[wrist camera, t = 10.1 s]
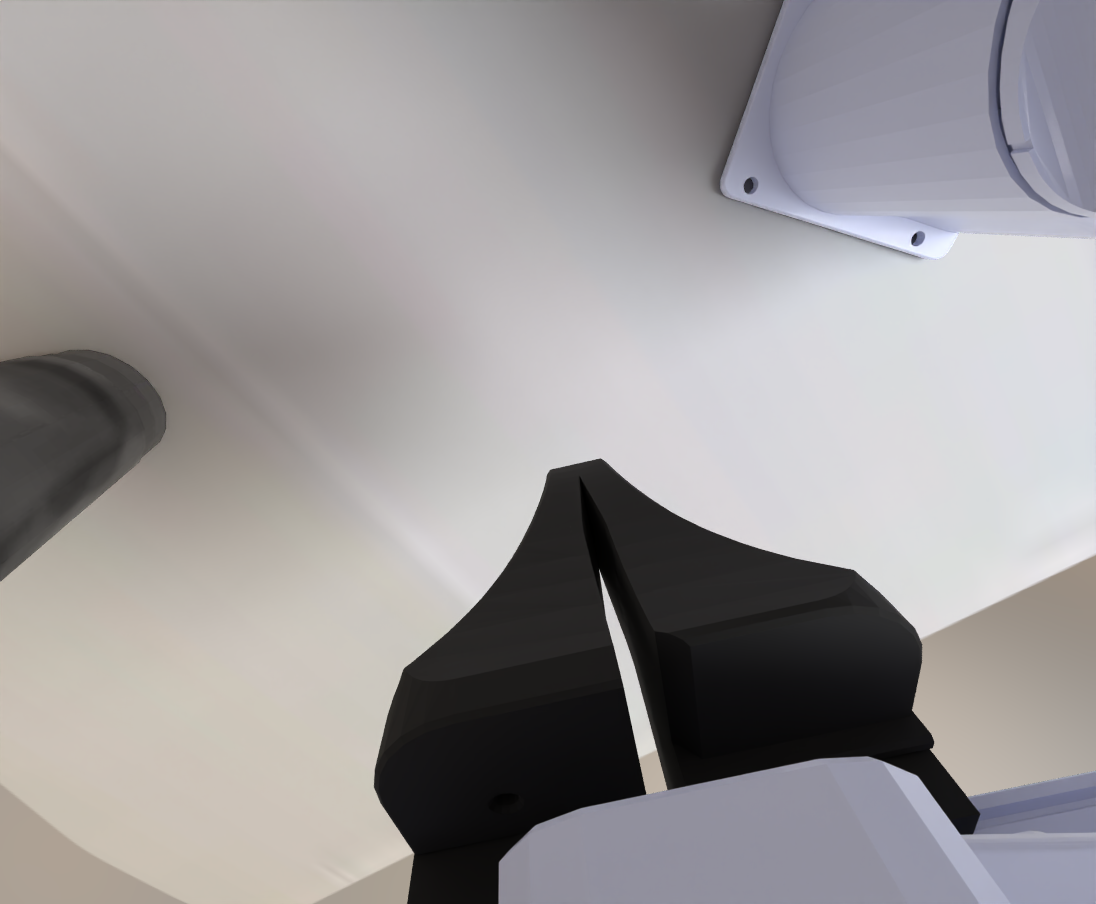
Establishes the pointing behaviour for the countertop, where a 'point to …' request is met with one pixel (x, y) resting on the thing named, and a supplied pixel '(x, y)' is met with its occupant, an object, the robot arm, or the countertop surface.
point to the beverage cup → (66, 441)
